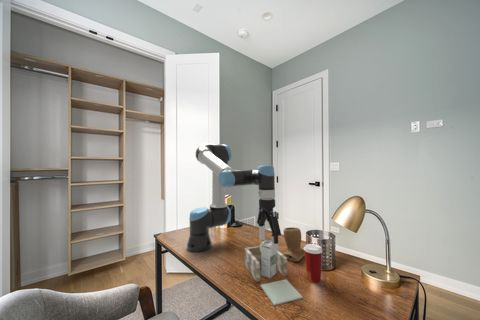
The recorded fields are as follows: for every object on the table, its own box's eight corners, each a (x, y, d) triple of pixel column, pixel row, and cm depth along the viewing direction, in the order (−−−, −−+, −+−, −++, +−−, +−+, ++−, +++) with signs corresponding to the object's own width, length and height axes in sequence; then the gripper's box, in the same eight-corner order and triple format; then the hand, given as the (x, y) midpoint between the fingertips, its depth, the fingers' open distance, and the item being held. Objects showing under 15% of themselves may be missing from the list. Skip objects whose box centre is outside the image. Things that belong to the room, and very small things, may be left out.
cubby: (244, 264, 100) (244, 248, 101) (270, 259, 105) (270, 244, 105) (256, 282, 85) (256, 263, 85) (287, 275, 89) (286, 257, 89)
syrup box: (266, 269, 95) (265, 239, 95) (277, 273, 91) (276, 242, 91) (259, 274, 90) (259, 242, 91) (270, 279, 87) (270, 246, 87)
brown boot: (289, 248, 118) (288, 223, 119) (309, 253, 111) (308, 227, 111) (277, 258, 106) (276, 230, 107) (298, 264, 99) (297, 234, 99)
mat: (260, 286, 82) (260, 284, 82) (285, 280, 86) (285, 279, 86) (274, 305, 70) (273, 304, 70) (302, 298, 74) (302, 296, 74)
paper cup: (325, 278, 87) (324, 246, 87) (319, 286, 81) (318, 252, 81) (308, 272, 92) (307, 242, 92) (301, 279, 86) (300, 247, 86)
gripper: (250, 195, 102) (251, 236, 102) (271, 203, 79) (273, 257, 78) (263, 194, 105) (264, 235, 104) (288, 202, 81) (290, 254, 80)
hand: (268, 244), depth 91 cm, fingers open, 13 cm apart
